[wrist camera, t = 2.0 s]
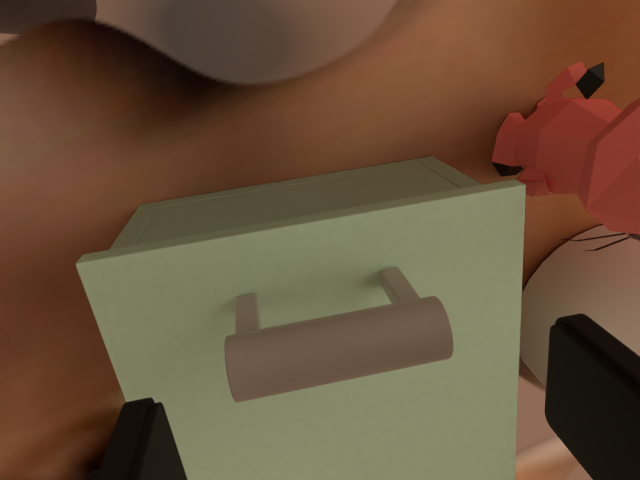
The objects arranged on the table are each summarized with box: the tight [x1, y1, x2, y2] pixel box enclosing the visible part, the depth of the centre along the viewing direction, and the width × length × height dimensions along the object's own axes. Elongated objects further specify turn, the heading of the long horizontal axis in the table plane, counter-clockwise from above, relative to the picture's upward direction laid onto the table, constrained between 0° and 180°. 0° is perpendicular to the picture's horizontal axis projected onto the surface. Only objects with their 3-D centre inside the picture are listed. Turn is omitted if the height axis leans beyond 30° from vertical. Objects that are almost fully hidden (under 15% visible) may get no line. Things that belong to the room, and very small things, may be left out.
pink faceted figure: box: [491, 61, 640, 251], centre depth 19 cm, size 7×7×12 cm
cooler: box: [109, 156, 484, 250], centre depth 23 cm, size 17×15×8 cm
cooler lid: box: [76, 179, 526, 480], centre depth 17 cm, size 18×15×5 cm
